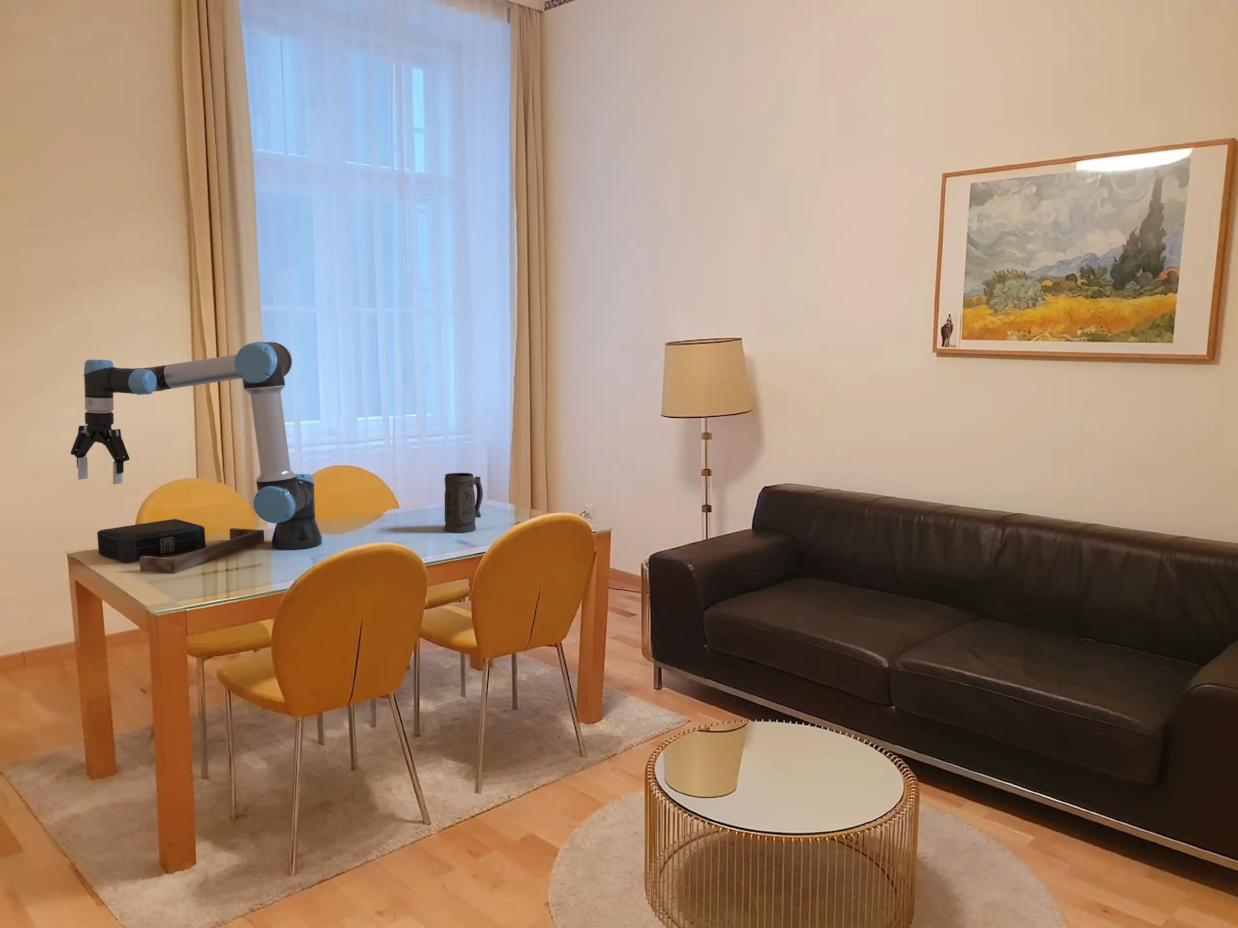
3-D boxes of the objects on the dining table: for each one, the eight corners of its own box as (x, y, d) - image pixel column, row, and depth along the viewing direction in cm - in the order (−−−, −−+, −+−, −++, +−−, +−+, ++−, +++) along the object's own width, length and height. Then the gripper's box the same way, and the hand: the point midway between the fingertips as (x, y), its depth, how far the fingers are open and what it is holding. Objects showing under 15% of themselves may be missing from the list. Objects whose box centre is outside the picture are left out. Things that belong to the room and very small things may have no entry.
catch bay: (264, 541, 297) (263, 529, 297) (175, 573, 258) (174, 559, 257) (233, 539, 300) (232, 527, 299) (140, 570, 260) (139, 557, 260)
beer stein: (460, 534, 310) (461, 475, 308) (436, 530, 315) (438, 473, 314) (489, 529, 323) (491, 473, 321) (466, 526, 328) (467, 470, 327)
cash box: (125, 565, 267) (124, 539, 266) (96, 554, 280) (94, 530, 279) (209, 550, 287) (207, 526, 285) (178, 541, 299) (176, 518, 298)
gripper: (56, 408, 274) (57, 478, 277) (121, 415, 267) (122, 487, 269) (78, 407, 281) (79, 475, 284) (142, 414, 274) (142, 484, 277)
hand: (100, 481), depth 277 cm, fingers open, 13 cm apart
